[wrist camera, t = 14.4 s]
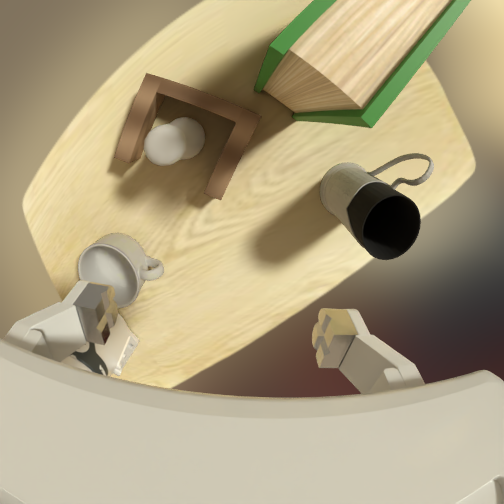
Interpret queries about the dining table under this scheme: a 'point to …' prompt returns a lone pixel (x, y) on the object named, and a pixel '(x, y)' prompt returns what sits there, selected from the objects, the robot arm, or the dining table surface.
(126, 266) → the teacup
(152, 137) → the salt shaker
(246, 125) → the walnut holder
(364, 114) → the hardback book
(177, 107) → the dining table surface
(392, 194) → the tall mug
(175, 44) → the dining table surface
